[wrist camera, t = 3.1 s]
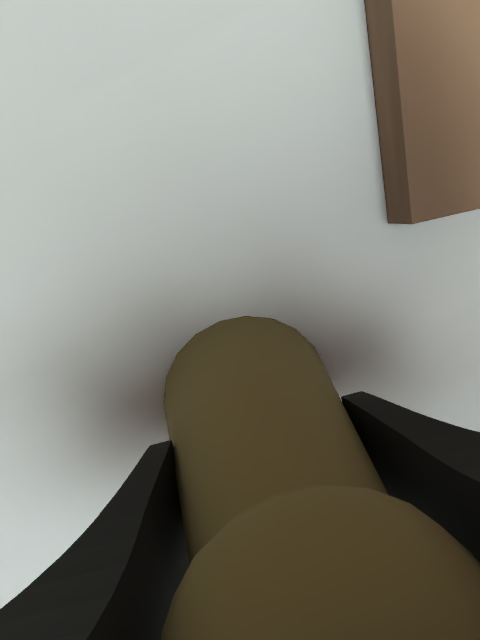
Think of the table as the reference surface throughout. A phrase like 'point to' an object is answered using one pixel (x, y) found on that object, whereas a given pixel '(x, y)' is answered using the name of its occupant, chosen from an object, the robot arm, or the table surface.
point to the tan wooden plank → (427, 105)
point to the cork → (296, 507)
